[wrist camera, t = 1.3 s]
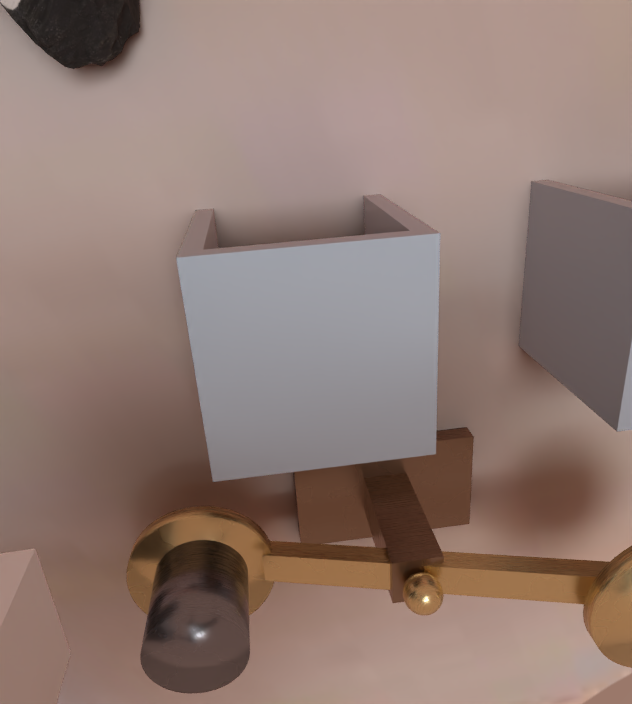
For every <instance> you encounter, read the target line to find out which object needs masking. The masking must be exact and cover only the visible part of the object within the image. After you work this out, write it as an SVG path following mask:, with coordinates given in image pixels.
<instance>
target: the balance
mask: <svg viewBox="0 0 632 704" xmlns="http://www.w3.org/2000/svg"><path fill="white" fill-rule="evenodd" d="M472 457H473V435H472V434H471V432H470V431H469V430H468V428H459V429H450V430H442V431H436V454H433V455H425V456H417V457H409V458H401V459H393V460H385V461H377V462H369V463H361V464H353V465H345V466H337V467H329V468H321V469H313V470H305V471H297V472H294V480H295V491H296V501H297V511H298V522H299V532H300V540H301V543H296V542H280V541H270V540H269V539H268V537H267V535H266V534H265V532H264V531H263V530H262V529H261V528H260V527H259V526H258V525H257V524H256V523H255V522H253V521H252V520H251V519H249V518H248V517H246V516H244V515H242V514H240V513H237V512H235V511H232V510H228V509H225V508H219V507H212V506H198V507H189V508H184V509H180V510H177V511H173V512H171V513H169V514H166V515H164V516H162V517H160V518H159V519H157V520H155V521H154V522H153V523H151V524H150V525H149V526H148V527H147V528H146V529H145V530H144V531H143V532H142V533H141V534H140V535H139V537H138V538H137V540H136V542H135V543H134V545H133V548H132V551H131V554H130V558H129V563H128V567H127V585H128V589H129V592H130V594H131V596H132V598H133V600H134V601H135V603H136V604H137V605H138V607H139V608H140V609H141V610H142V611H143V612H144V613H146V614H147V615H148V616H147V621H146V627H145V632H144V638H143V644H142V649H141V664H142V667H143V669H144V671H145V673H146V674H147V676H148V677H149V678H150V679H151V680H152V681H153V682H155V683H156V684H158V685H160V686H162V687H163V688H166V689H169V690H172V691H175V692H181V693H203V692H208V691H212V690H215V689H218V688H221V687H223V686H225V685H227V684H229V683H230V682H232V681H233V680H234V679H236V678H237V677H238V676H239V675H240V674H241V673H242V672H243V670H244V669H245V667H246V665H247V663H248V660H249V654H250V643H249V615H250V614H252V613H253V612H254V611H256V610H257V609H258V608H259V607H260V606H261V605H262V604H263V602H264V601H265V600H266V598H267V597H268V595H269V593H270V591H271V589H272V587H273V583H274V581H277V582H291V583H304V584H318V585H331V586H345V587H359V588H372V589H386V590H389V593H390V596H391V599H392V602H393V603H398V602H404V601H405V603H406V605H407V607H408V608H409V609H410V610H411V611H413V612H414V613H416V614H419V615H430V614H433V613H434V612H436V611H437V610H438V609H439V608H440V606H441V604H442V602H443V594H454V595H467V596H481V597H494V598H508V599H521V600H535V601H549V602H562V603H576V604H584V610H583V617H584V623H585V626H586V629H587V631H588V632H589V634H590V636H591V637H592V639H593V640H594V642H595V643H596V645H597V646H598V648H599V649H600V651H601V652H602V653H603V654H604V655H605V656H606V657H607V658H608V659H610V660H611V661H613V662H615V663H617V664H620V665H623V666H626V667H631V668H632V546H631V547H629V548H627V549H626V550H624V551H623V552H621V553H620V554H619V555H618V556H616V557H615V558H614V559H613V560H612V561H611V562H605V561H589V560H572V559H556V558H540V557H524V556H507V555H491V554H475V553H459V552H442V551H441V549H440V547H439V545H438V542H437V540H436V538H435V536H434V533H433V531H432V529H434V528H441V527H448V526H456V525H463V524H469V519H470V498H471V478H472ZM367 537H373V540H374V543H375V547H361V546H345V545H329V544H323V543H331V542H338V541H345V540H353V539H360V538H367Z"/></svg>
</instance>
